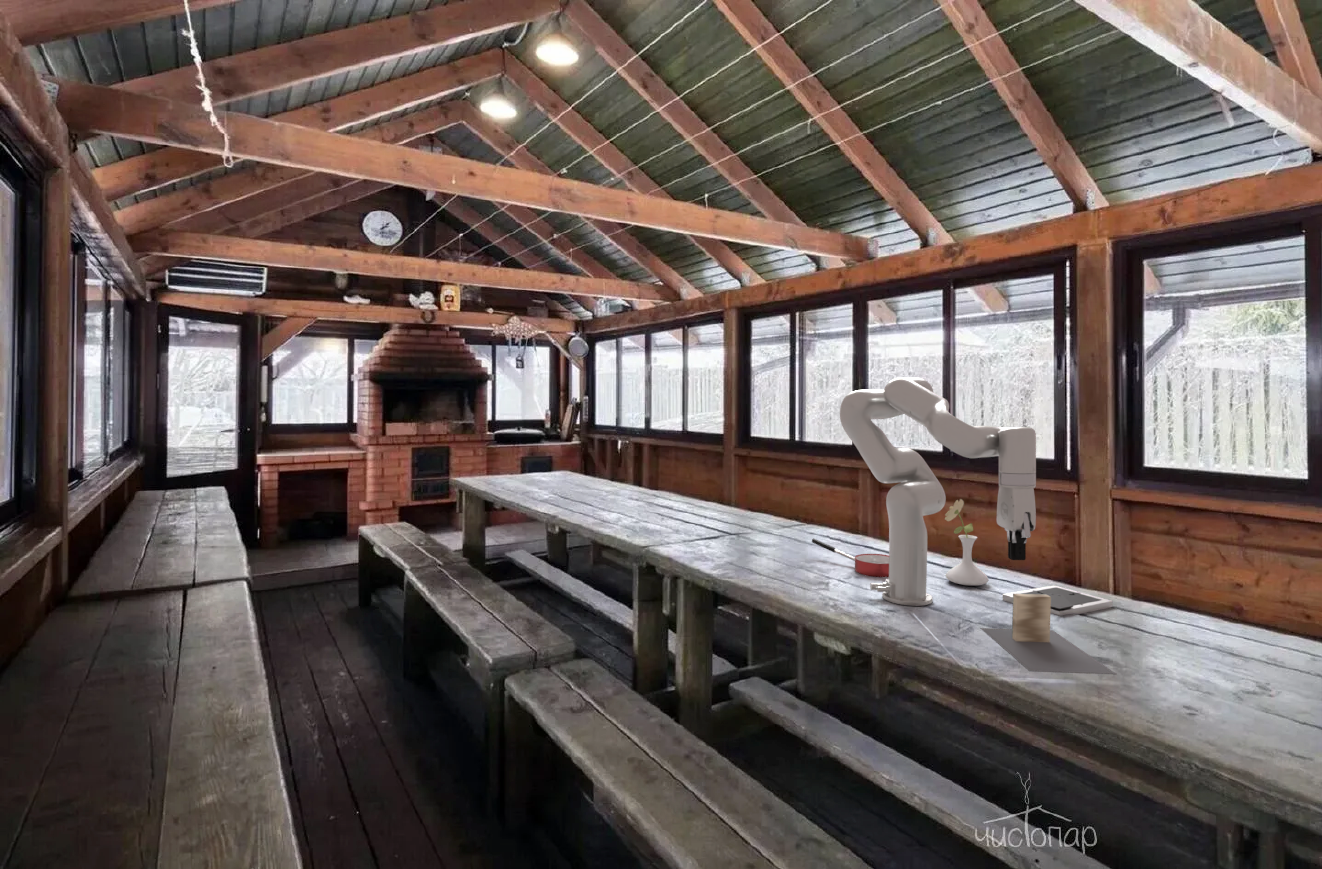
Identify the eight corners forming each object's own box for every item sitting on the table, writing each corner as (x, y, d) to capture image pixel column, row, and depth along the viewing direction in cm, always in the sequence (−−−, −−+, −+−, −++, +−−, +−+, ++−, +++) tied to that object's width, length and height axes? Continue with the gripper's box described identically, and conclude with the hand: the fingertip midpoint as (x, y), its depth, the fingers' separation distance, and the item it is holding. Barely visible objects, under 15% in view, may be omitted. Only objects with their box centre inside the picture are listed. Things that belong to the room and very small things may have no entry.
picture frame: (1059, 619, 159) (1112, 608, 167) (1059, 608, 158) (1112, 598, 167) (1002, 601, 173) (1054, 592, 181) (1002, 591, 173) (1054, 582, 181)
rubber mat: (1029, 673, 126) (1029, 670, 126) (980, 630, 150) (980, 627, 150) (1116, 676, 124) (1116, 673, 124) (1052, 632, 148) (1052, 630, 148)
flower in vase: (967, 576, 196) (969, 494, 195) (997, 586, 185) (999, 500, 184) (932, 580, 192) (933, 496, 191) (961, 591, 181) (963, 502, 180)
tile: (1016, 641, 141) (1017, 596, 141) (1011, 637, 143) (1013, 593, 143) (1049, 642, 141) (1050, 597, 140) (1045, 638, 143) (1046, 594, 142)
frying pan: (796, 560, 216) (797, 541, 216) (819, 554, 225) (819, 536, 225) (884, 580, 192) (885, 559, 192) (906, 572, 201) (907, 552, 201)
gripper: (986, 477, 157) (986, 552, 157) (1014, 484, 142) (1014, 566, 143) (1019, 477, 156) (1018, 552, 157) (1050, 483, 141) (1050, 567, 142)
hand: (1016, 559), depth 150 cm, fingers closed
